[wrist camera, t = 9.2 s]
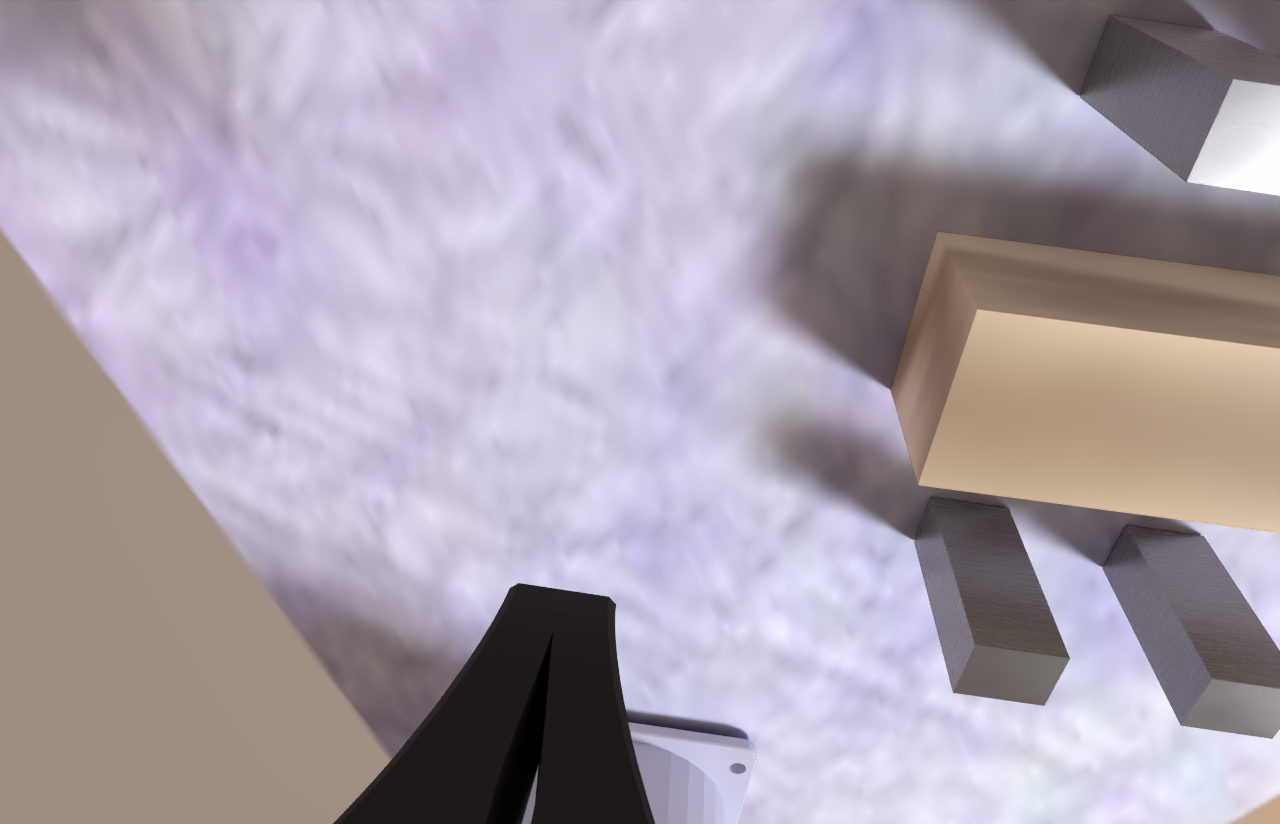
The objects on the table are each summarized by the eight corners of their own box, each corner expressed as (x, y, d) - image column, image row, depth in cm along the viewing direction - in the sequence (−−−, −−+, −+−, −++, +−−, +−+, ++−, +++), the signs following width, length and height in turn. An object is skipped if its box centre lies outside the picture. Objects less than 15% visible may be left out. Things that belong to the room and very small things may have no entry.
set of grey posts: (989, 552, 24) (1044, 705, 20) (913, 540, 24) (953, 692, 20) (1216, 30, 17) (1374, 99, 13) (1109, 15, 17) (1233, 78, 13)
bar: (1389, 450, 22) (1512, 566, 19) (888, 384, 22) (918, 488, 19) (1491, 298, 20) (1651, 399, 16) (935, 227, 20) (979, 311, 17)
